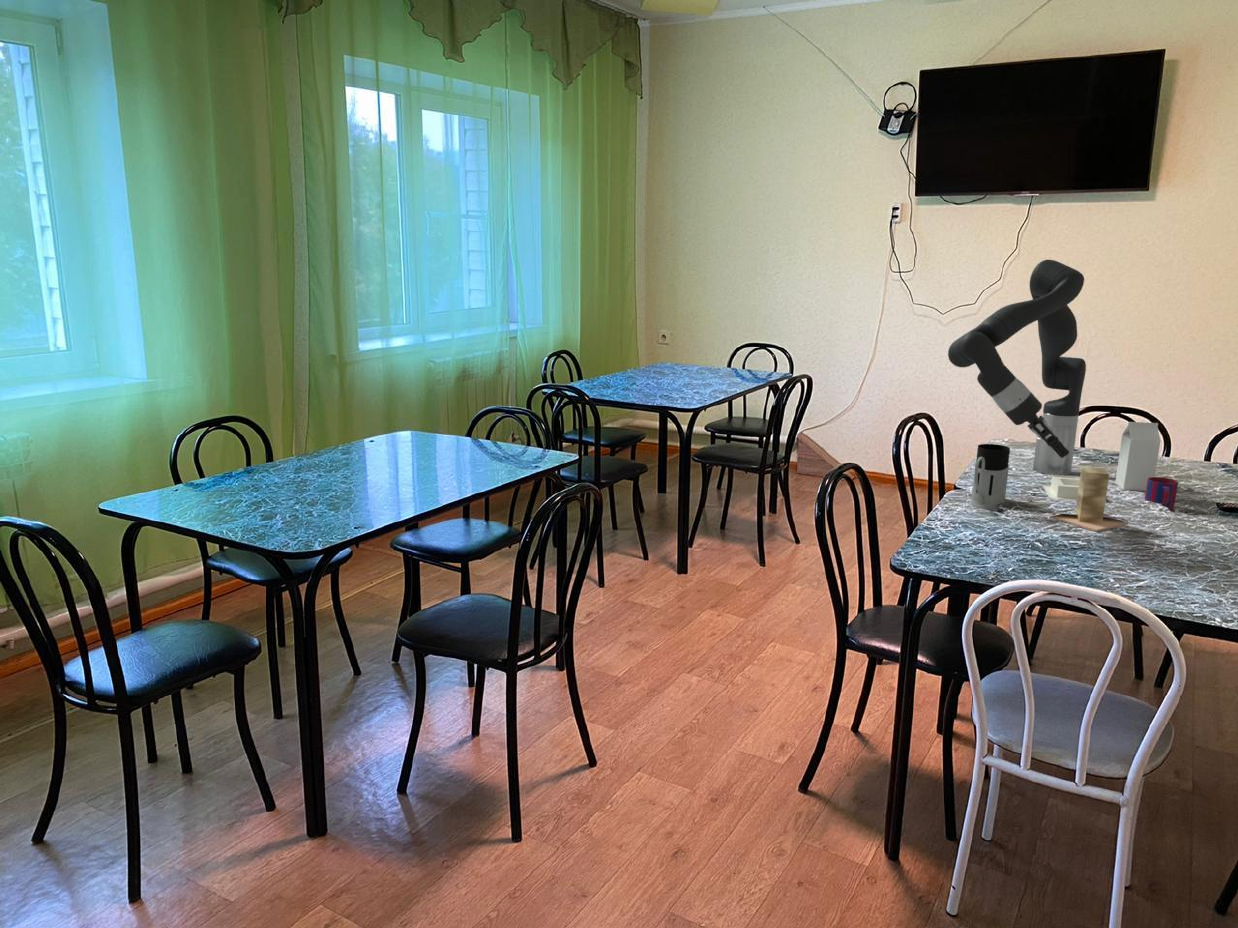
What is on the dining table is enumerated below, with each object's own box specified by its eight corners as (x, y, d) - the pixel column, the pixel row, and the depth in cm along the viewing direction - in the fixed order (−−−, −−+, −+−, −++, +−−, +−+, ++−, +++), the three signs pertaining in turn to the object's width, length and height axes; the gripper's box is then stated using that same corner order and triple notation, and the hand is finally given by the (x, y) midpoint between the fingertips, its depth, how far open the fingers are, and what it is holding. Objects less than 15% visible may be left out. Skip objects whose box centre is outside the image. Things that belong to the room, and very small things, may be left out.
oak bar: (1079, 521, 220) (1085, 472, 217) (1074, 515, 224) (1081, 467, 221) (1102, 523, 218) (1109, 474, 216) (1097, 517, 223) (1104, 469, 220)
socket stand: (1049, 504, 236) (1052, 486, 234) (1041, 490, 248) (1043, 474, 247) (1106, 508, 232) (1108, 491, 231) (1094, 494, 244) (1097, 478, 243)
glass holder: (1011, 504, 234) (1018, 447, 231) (989, 516, 224) (996, 456, 221) (977, 498, 240) (983, 441, 237) (954, 509, 230) (960, 450, 227)
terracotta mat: (1050, 518, 224) (1050, 516, 224) (1081, 511, 229) (1081, 509, 229) (1096, 531, 213) (1096, 529, 213) (1127, 524, 219) (1128, 522, 219)
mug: (1173, 504, 237) (1177, 478, 235) (1176, 514, 228) (1180, 488, 226) (1143, 501, 239) (1147, 475, 238) (1145, 511, 231) (1149, 484, 229)
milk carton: (1151, 496, 243) (1163, 425, 239) (1122, 494, 245) (1133, 424, 240) (1142, 489, 250) (1153, 420, 246) (1114, 487, 252) (1124, 419, 247)
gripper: (1034, 395, 211) (1082, 447, 211) (1025, 385, 225) (1070, 435, 225) (1006, 416, 214) (1054, 468, 214) (999, 406, 227) (1043, 454, 227)
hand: (1062, 451), depth 219 cm, fingers open, 8 cm apart
